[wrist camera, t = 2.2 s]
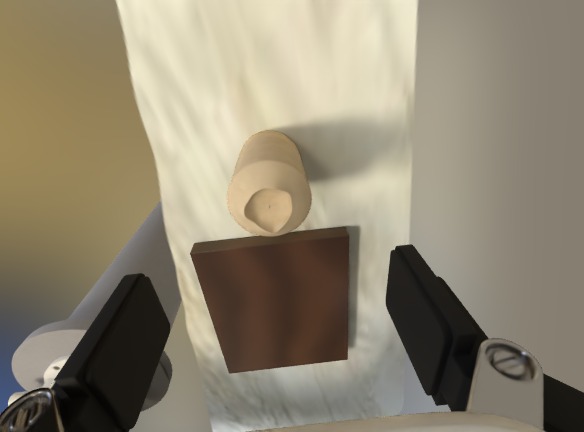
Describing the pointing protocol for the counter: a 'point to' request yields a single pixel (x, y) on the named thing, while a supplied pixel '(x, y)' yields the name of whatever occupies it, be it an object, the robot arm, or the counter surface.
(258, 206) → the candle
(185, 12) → the counter surface
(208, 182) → the counter surface
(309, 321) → the walnut board
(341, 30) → the counter surface
